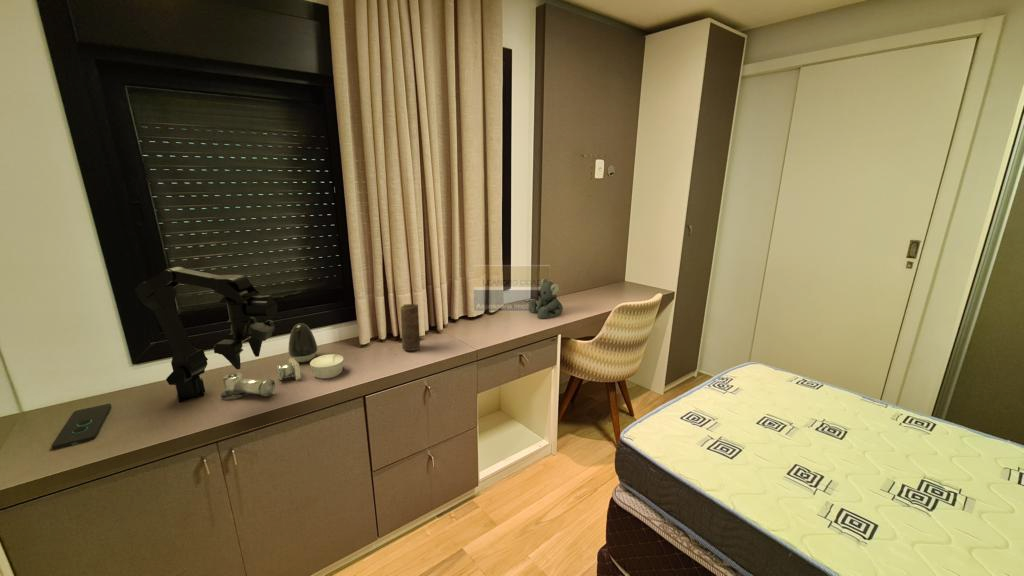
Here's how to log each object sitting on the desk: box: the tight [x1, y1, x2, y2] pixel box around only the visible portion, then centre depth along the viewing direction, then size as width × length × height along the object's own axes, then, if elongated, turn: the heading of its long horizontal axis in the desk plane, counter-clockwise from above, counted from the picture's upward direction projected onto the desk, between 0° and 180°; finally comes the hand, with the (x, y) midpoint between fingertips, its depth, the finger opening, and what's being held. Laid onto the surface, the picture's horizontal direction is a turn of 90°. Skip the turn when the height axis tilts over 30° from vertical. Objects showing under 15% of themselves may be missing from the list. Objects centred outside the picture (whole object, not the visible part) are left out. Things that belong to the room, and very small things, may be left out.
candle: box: [400, 303, 421, 351], centre depth 165 cm, size 8×7×20 cm
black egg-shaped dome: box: [287, 323, 318, 363], centre depth 153 cm, size 10×10×15 cm
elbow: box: [222, 372, 276, 397], centre depth 128 cm, size 15×5×6 cm, turn 84°
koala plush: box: [528, 277, 564, 320], centre depth 216 cm, size 17×18×20 cm
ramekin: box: [309, 353, 345, 380], centre depth 144 cm, size 11×11×5 cm
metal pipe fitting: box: [220, 357, 302, 401], centre depth 134 cm, size 23×8×6 cm, turn 134°
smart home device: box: [51, 403, 112, 451], centre depth 111 cm, size 8×2×20 cm
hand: (248, 362), depth 124 cm, fingers open, 9 cm apart
